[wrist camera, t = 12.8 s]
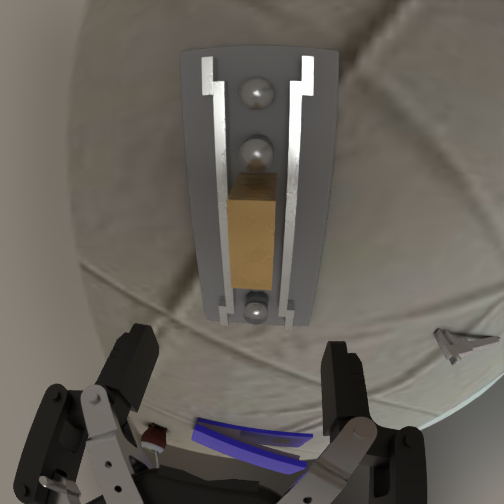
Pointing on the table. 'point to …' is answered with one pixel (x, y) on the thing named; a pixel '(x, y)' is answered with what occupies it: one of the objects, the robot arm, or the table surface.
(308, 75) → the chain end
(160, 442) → the mate gourd
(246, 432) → the stapler
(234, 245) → the tall wooden block
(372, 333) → the table surface
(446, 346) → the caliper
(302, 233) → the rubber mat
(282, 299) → the grey studded track end
